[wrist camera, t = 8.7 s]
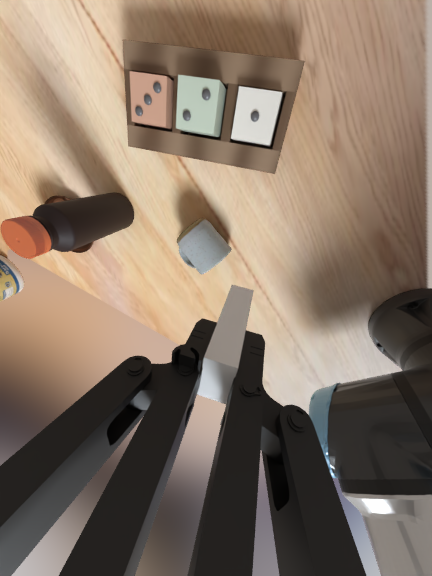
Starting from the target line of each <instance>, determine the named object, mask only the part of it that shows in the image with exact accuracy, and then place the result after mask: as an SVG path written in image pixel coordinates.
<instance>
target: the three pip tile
mask: <svg viewBox="0 0 432 576" xmlns="http://www.w3.org/2000/svg"><path fill="white" fill-rule="evenodd" d="M130 93H131V116H132V122H136V123H139V124H142V125H146V126H152V127H158V128H164V129H170V130H172V124H173V97H174V81H172V80H171V79H170V78H169V77H167V76H162V75H154V74H147V73H140V72H133V71H130Z"/></svg>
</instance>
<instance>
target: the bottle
mask: <svg viewBox="0 0 432 576" xmlns="http://www.w3.org/2000/svg"><path fill="white" fill-rule="evenodd" d="M133 219H134V211H133V208H132V205H131V204H130V202H129V201H128V200H127V198H126V197H124V196H123V195H121V194H118V193H108V194H102V195H96V196H90V197H85V198H79V199H73V200H67V201H61V202H55V203H49V204H43V205H40V206H39V207H37V208H36V209H35V211H34V213H33V216H22V217H17V218H12V219H7V220H5V221H3V223H2V224H1V233H2V236H3V238H4V240H5V242H6V244H7V245H8V246H9V247H10V248H11V249H12V250H13V251H14V252H15V253H16V254H18V255H19V256H21V257H24V258H29V259H31V258H34V257H36V256H39V255H42V254H44V253H47V252H48V251H50V250H52V249H54V250H57V251H60V252H68V251H71V250H74V249H76V248H78V247H81V246H83V245H86V244H88V243H91V242H93V241H95V240H98V239H100V238H103V237H105V236H107V235H110V234H112V233H115V232H117V231H119V230H122V229H124V228H127V227H128V226H130V225H131V223H132V222H133Z"/></svg>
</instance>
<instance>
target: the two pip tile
mask: <svg viewBox="0 0 432 576" xmlns="http://www.w3.org/2000/svg"><path fill="white" fill-rule="evenodd" d="M225 96H226V88H225V87H224V85H223V84H222V82H221V81H220V80H215V79H207V78H200V77H192V76H185V75H178V90H177V113H176V128H177V129H180V130H182V131H185V132H190V133H196V134H202V135H208V136H214V137H219V138H220V133H221V126H222V119H223V111H224V104H225Z"/></svg>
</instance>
